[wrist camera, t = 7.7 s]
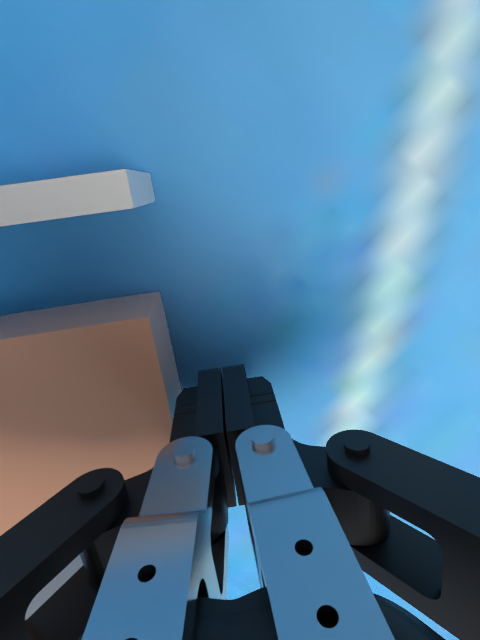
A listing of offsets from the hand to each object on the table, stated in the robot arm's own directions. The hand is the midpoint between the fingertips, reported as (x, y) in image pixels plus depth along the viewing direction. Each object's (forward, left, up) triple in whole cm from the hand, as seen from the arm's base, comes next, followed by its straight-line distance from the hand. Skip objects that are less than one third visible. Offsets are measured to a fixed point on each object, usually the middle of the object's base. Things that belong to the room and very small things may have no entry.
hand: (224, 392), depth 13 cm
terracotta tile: (0, -5, -2) cm, 5 cm away
